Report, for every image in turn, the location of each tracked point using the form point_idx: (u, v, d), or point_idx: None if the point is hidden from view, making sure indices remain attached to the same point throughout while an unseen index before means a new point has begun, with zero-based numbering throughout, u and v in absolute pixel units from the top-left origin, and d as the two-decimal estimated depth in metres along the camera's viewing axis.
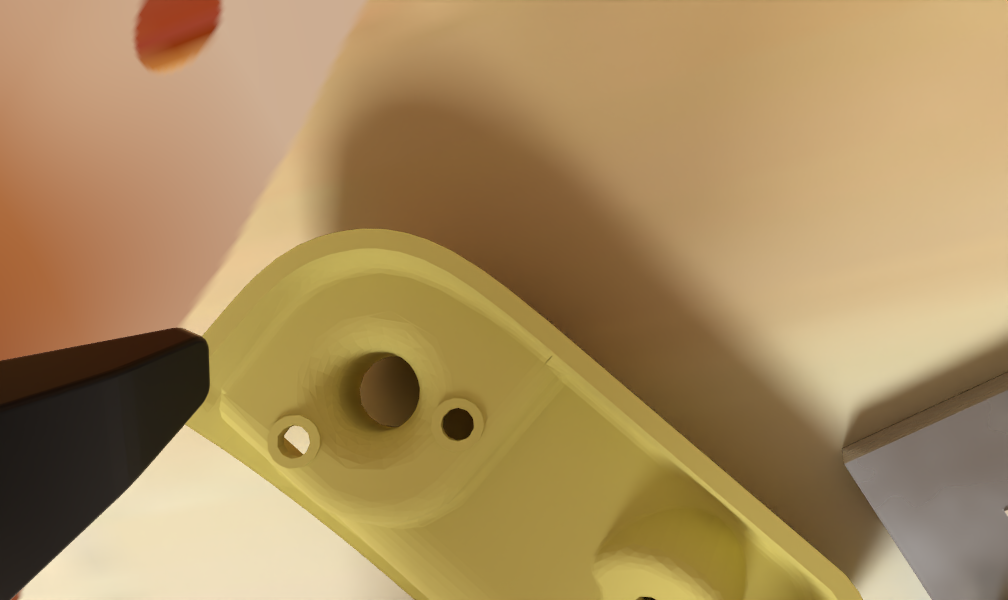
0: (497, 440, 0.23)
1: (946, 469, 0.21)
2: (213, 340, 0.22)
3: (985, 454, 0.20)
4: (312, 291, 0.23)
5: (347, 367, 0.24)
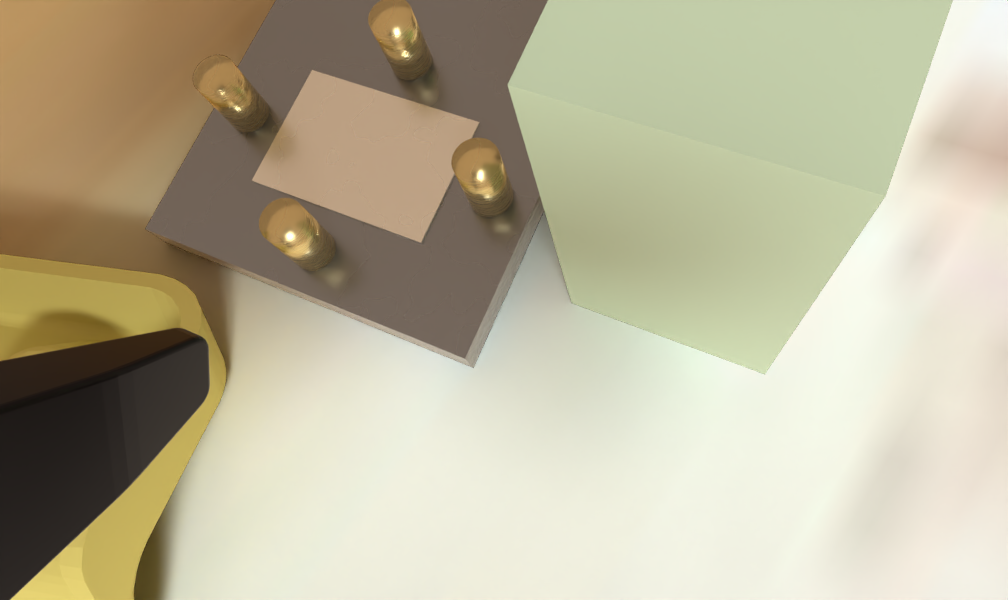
0: None
1: (206, 184, 0.26)
2: None
3: (221, 159, 0.26)
4: None
5: None
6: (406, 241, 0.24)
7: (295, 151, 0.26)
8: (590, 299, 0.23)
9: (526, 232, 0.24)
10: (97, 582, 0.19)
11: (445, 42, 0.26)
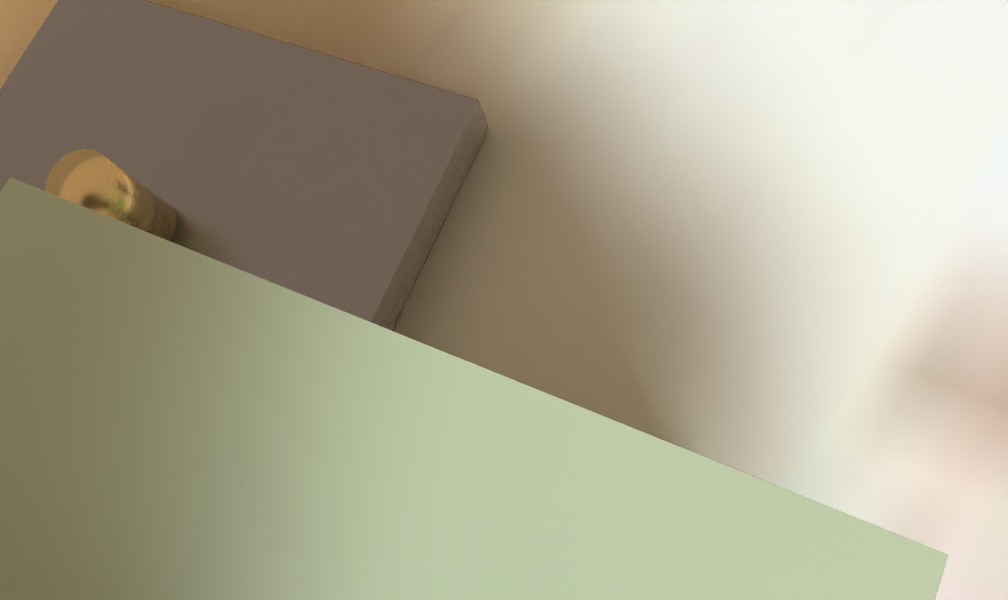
0: None
1: None
2: None
3: None
4: None
5: None
6: None
7: None
8: None
9: None
10: None
11: (197, 198, 0.18)
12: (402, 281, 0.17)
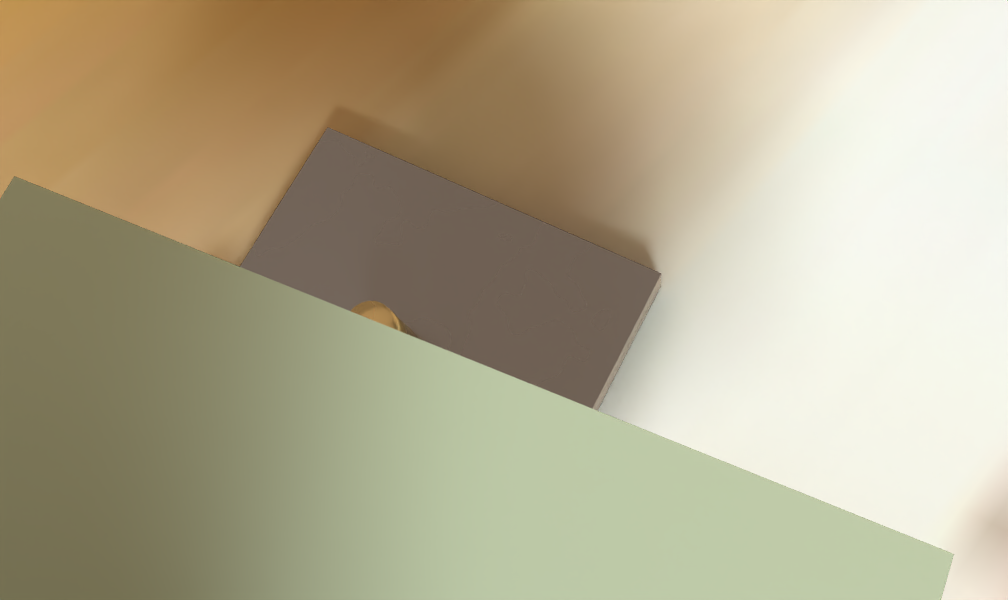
0: None
1: None
2: None
3: None
4: None
5: None
6: None
7: None
8: None
9: None
10: None
11: (435, 328, 0.23)
12: None
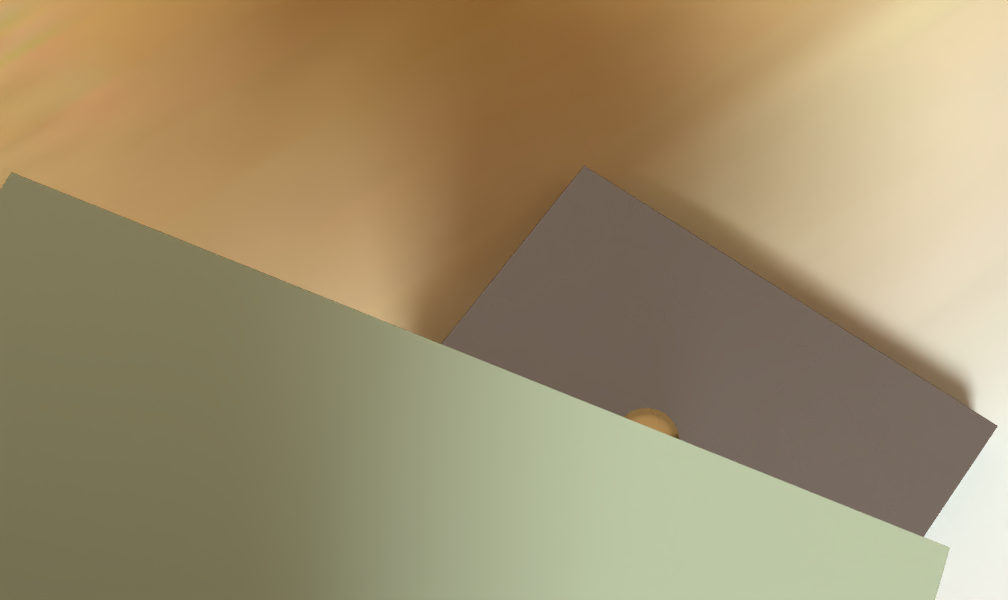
0: None
1: None
2: None
3: None
4: None
5: None
6: None
7: None
8: None
9: None
10: None
11: (698, 438, 0.19)
12: None
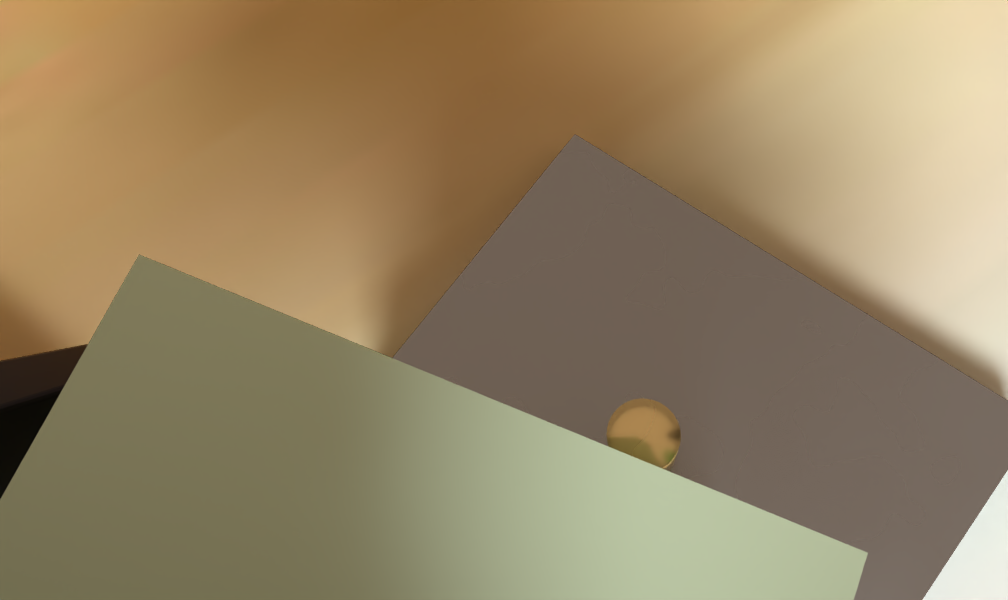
0: None
1: None
2: None
3: None
4: None
5: None
6: None
7: None
8: None
9: None
10: None
11: (701, 434, 0.17)
12: None
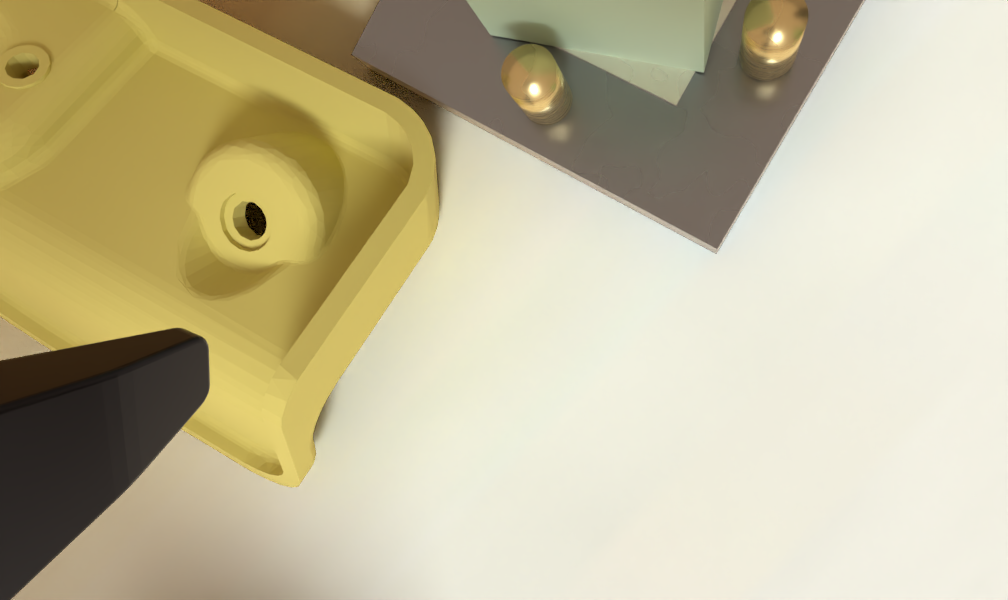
0: (70, 82, 0.23)
1: (420, 5, 0.23)
2: None
3: None
4: None
5: None
6: (657, 101, 0.21)
7: None
8: (503, 22, 0.21)
9: (803, 103, 0.20)
10: (290, 426, 0.19)
11: None
12: None
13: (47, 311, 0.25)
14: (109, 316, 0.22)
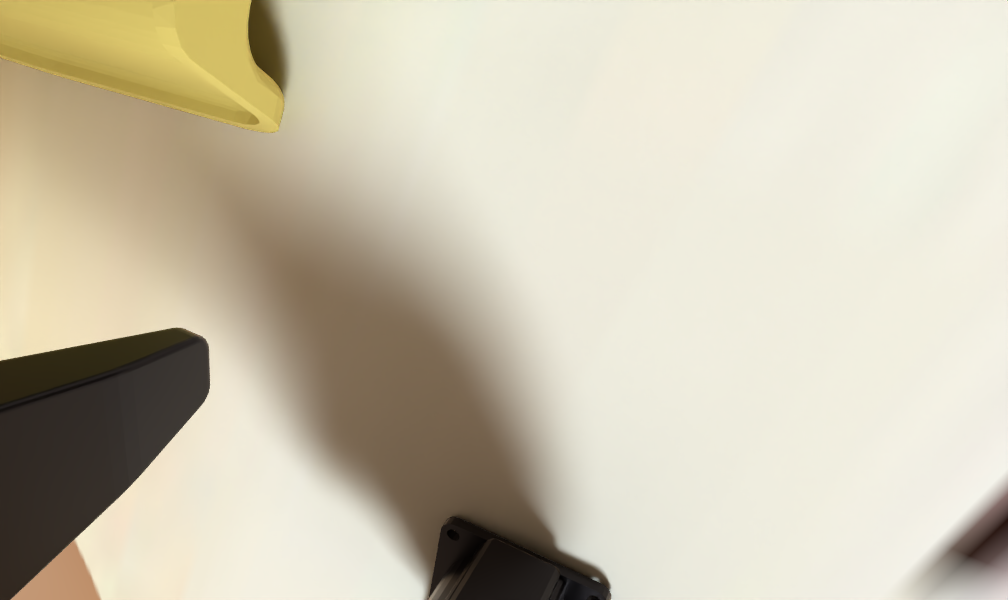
0: None
1: None
2: None
3: None
4: None
5: None
6: None
7: None
8: None
9: None
10: (205, 57, 0.19)
11: None
12: None
13: (12, 32, 0.25)
14: (39, 11, 0.22)
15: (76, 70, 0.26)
